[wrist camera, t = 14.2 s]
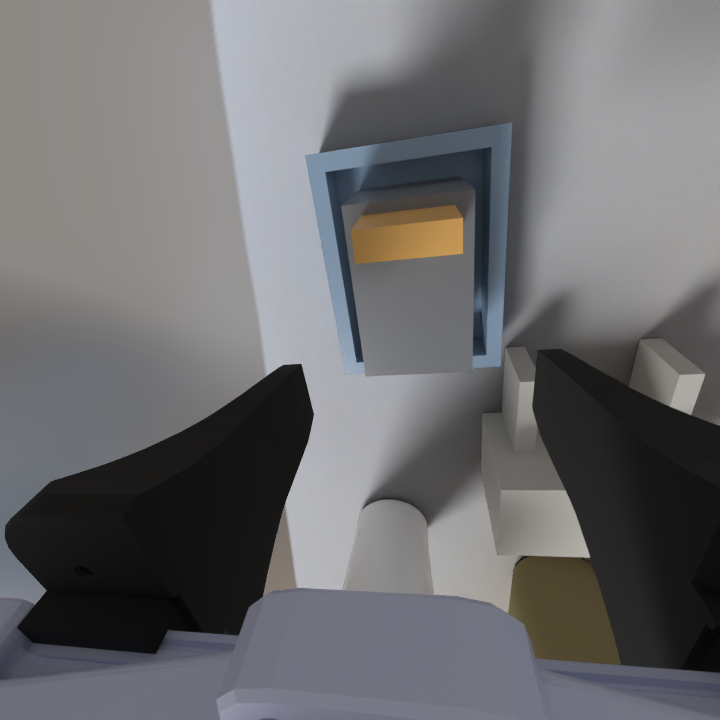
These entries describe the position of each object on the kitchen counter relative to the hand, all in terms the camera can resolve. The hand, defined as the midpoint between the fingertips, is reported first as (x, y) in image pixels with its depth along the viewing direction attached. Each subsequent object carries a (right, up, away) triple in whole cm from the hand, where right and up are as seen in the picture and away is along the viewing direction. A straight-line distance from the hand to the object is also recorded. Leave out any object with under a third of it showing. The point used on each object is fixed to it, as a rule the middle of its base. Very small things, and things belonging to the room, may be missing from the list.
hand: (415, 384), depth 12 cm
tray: (+1, +6, +7) cm, 10 cm away
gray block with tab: (+1, +6, +7) cm, 9 cm away
